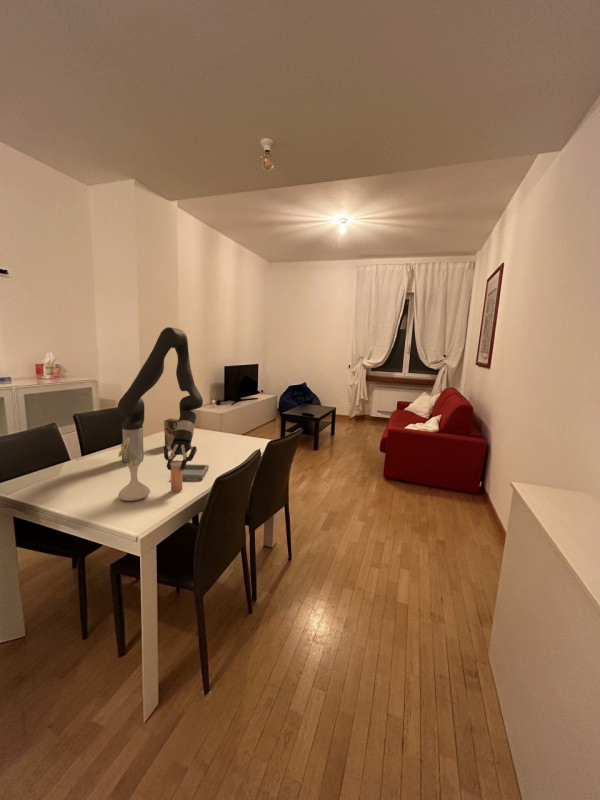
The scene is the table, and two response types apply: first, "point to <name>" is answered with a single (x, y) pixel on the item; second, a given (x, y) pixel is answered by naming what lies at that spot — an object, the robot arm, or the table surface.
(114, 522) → the table surface
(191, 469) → the tray
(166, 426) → the coffee box
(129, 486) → the flower in vase
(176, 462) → the shaker
